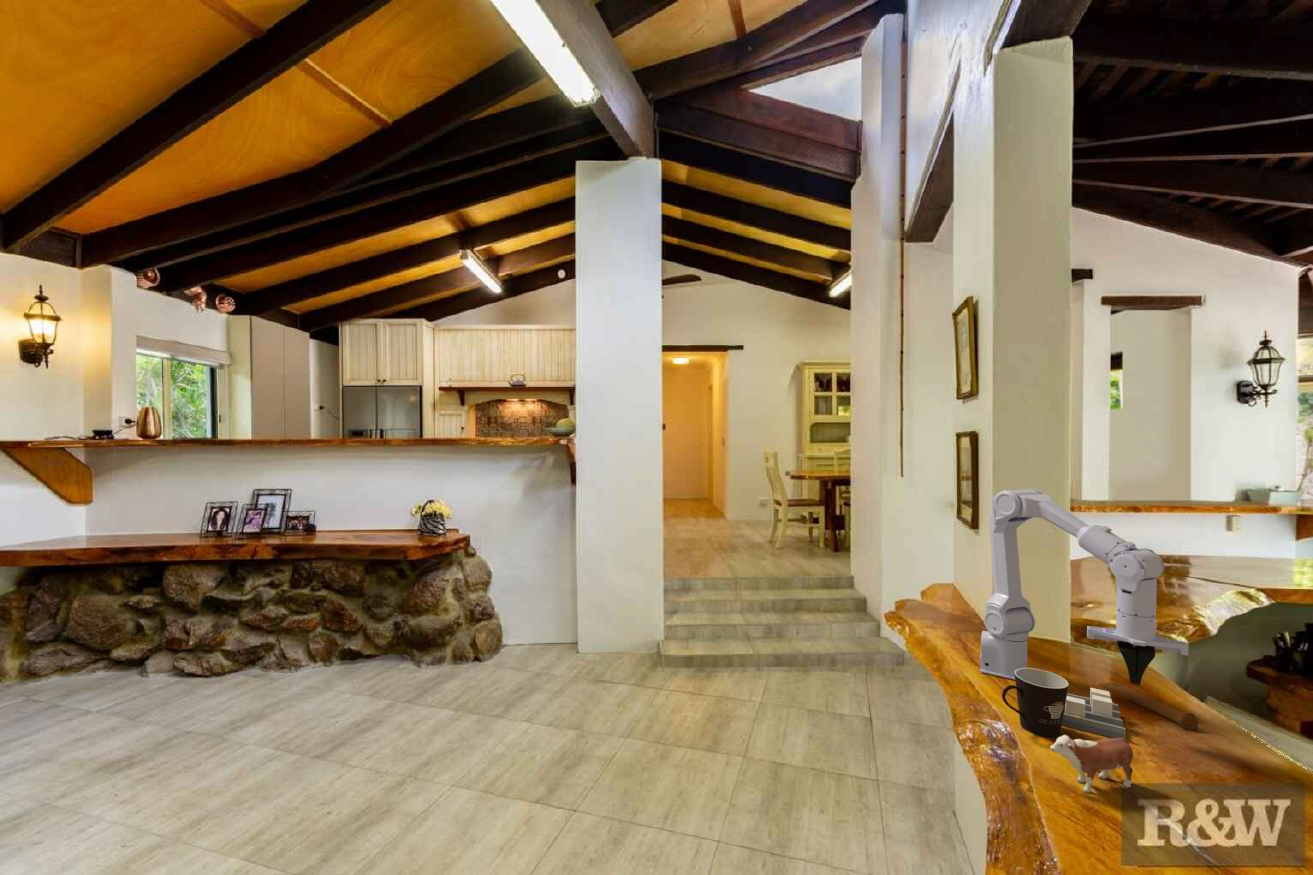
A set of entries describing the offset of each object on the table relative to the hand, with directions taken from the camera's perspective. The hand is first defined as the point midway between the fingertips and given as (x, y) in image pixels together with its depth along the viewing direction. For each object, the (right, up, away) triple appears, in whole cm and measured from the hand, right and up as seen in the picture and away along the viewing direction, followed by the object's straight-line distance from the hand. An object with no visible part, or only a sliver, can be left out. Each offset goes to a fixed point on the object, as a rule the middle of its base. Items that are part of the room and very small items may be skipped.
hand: (1134, 682), depth 105 cm
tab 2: (-2, -8, +6) cm, 10 cm away
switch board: (-6, -9, +4) cm, 12 cm away
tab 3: (-4, -8, +3) cm, 9 cm away
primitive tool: (+11, -10, +10) cm, 18 cm away
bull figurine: (-20, -10, -15) cm, 27 cm away
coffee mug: (-19, -10, +2) cm, 21 cm away
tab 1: (-9, -8, +3) cm, 13 cm away
